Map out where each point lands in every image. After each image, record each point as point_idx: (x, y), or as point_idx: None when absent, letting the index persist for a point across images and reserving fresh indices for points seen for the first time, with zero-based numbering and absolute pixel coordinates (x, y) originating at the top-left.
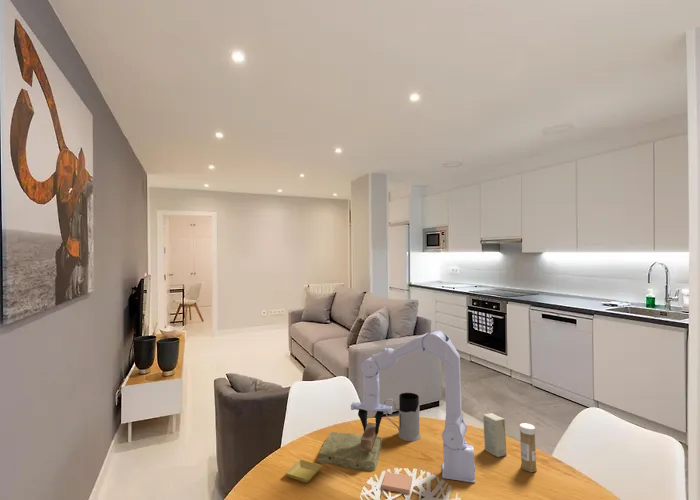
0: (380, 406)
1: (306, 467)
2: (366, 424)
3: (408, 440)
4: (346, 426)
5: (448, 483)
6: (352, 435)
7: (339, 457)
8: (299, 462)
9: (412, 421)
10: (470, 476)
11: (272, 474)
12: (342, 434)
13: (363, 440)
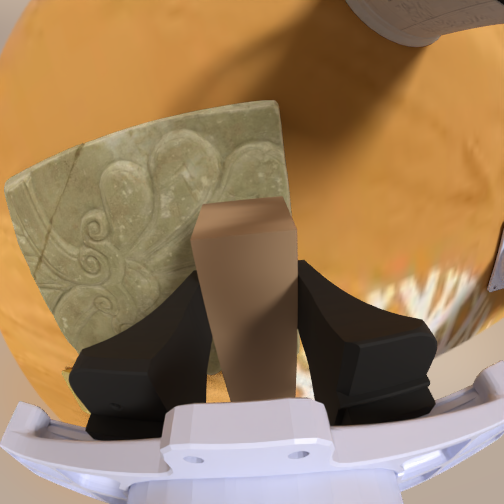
0: (405, 480)
1: None
2: (201, 314)
3: (407, 45)
4: (36, 31)
5: (489, 301)
6: (93, 164)
7: None
8: (68, 374)
9: (487, 25)
10: None
11: (60, 395)
12: (48, 182)
13: None
